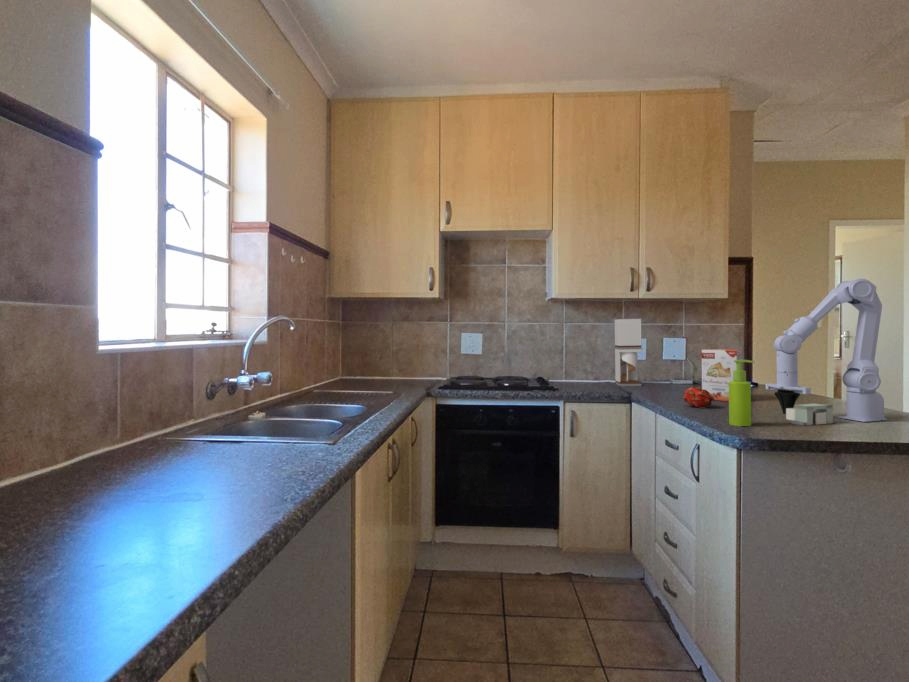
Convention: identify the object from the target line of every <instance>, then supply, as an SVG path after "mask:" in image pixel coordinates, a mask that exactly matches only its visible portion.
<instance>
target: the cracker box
mask: <svg viewBox="0 0 909 682" xmlns="http://www.w3.org/2000/svg"><path fill="white" fill-rule="evenodd" d="M743 358H744V357H743V350H742V349H728V348H727V349H725V348H722V349H721V348H714V349H713V348H706V349H705V348H704V349H701V388H702V390H707V391H708V392H709V393H710V394H711V395H712V396H713V397H714V401H720V402H721V401H723V402H729V382H731V381H733V371H735V370H736V362H734V360H744V359H743Z"/></svg>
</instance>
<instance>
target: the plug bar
mask: <svg viewBox="0 0 909 682" xmlns="http://www.w3.org/2000/svg"><path fill="white" fill-rule="evenodd" d="M785 419H786V420H789V421H793V420H795V407H793V408H786V414H785ZM826 424H827V423H826V412H821V411H815V410H813V425H817V426H818V425H826Z"/></svg>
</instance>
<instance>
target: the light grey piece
mask: <svg viewBox="0 0 909 682" xmlns="http://www.w3.org/2000/svg"><path fill="white" fill-rule="evenodd" d="M638 353H642V319H641V318H621V319H619V318H617V319H614V368H615V369H614V371H615V372H614V377H615V378H614V379H615V380H614V381H615V382H614V383H616V384H617V386H618V385H619V387H642V386H643V381H640V380H639V379H638ZM616 384H615V385H616Z"/></svg>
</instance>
